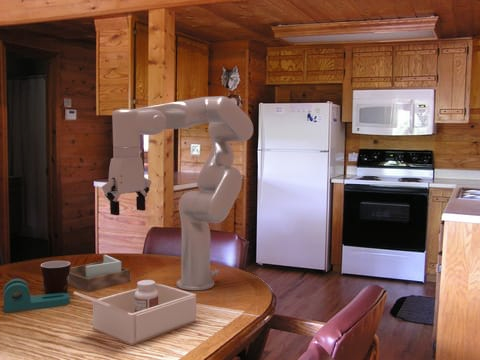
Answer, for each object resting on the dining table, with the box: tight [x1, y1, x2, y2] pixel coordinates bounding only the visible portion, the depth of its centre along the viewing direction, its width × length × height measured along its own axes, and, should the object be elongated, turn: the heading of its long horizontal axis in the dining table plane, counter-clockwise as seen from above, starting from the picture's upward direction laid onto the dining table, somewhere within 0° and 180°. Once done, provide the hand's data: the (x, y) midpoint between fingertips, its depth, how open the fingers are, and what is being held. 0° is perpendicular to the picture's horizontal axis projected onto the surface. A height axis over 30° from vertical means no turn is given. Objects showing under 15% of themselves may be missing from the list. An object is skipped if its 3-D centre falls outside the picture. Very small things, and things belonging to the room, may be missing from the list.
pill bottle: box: [134, 279, 158, 312], centre depth 139 cm, size 6×6×11 cm
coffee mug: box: [40, 260, 71, 294], centre depth 164 cm, size 12×9×10 cm
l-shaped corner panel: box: [86, 254, 122, 278], centre depth 179 cm, size 12×12×8 cm
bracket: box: [2, 278, 71, 314], centre depth 153 cm, size 18×7×8 cm, turn 116°
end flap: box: [73, 291, 128, 314], centre depth 128 cm, size 1×14×6 cm
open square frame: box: [68, 261, 131, 293], centre depth 179 cm, size 17×17×4 cm
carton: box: [92, 282, 197, 346], centre depth 139 cm, size 22×17×8 cm
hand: (128, 212), depth 152 cm, fingers open, 9 cm apart
